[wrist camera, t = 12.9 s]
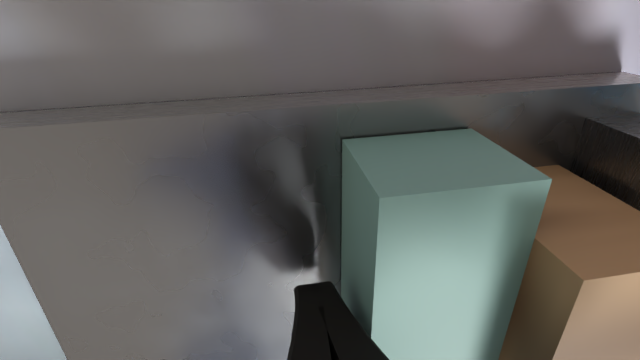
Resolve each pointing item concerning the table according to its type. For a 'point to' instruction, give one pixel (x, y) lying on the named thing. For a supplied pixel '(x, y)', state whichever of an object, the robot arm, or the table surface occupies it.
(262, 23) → the table surface
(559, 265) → the walnut block
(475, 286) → the block
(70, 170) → the vise
